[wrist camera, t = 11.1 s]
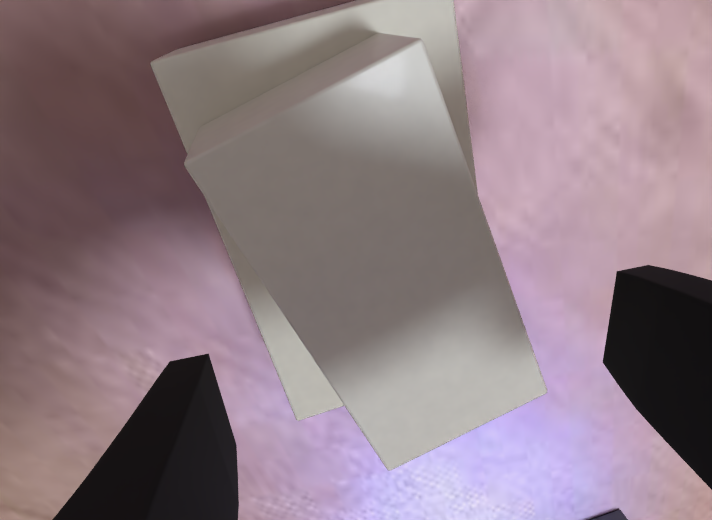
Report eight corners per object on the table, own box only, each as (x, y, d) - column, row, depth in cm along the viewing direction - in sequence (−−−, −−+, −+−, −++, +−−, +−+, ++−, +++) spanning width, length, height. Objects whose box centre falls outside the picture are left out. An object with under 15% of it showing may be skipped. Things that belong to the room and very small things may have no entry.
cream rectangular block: (364, 392, 15) (388, 472, 13) (197, 127, 11) (181, 164, 8) (496, 326, 15) (548, 393, 12) (379, 31, 11) (422, 36, 8)
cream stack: (290, 353, 19) (300, 431, 15) (174, 49, 14) (148, 62, 10) (463, 298, 19) (512, 362, 16) (414, -16, 14) (469, -26, 11)
